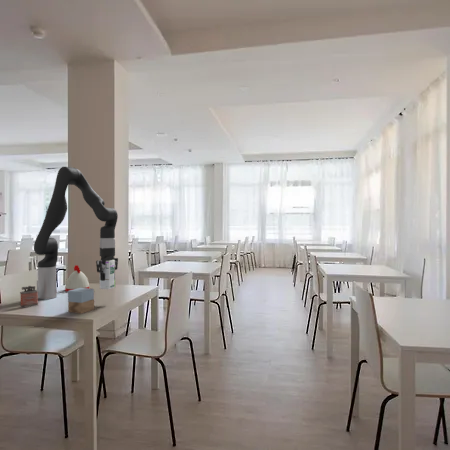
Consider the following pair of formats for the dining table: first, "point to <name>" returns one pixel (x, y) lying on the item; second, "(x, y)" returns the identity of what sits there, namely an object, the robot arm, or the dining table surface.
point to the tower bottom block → (81, 306)
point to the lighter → (29, 296)
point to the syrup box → (108, 275)
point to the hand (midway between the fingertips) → (107, 279)
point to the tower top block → (80, 295)
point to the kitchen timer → (76, 280)
